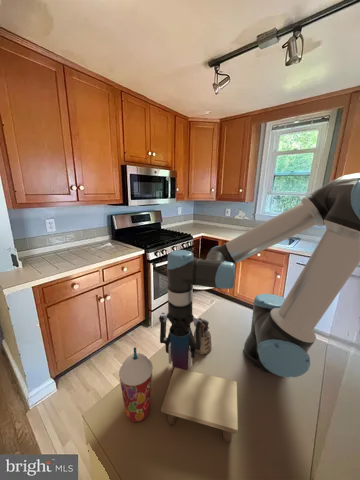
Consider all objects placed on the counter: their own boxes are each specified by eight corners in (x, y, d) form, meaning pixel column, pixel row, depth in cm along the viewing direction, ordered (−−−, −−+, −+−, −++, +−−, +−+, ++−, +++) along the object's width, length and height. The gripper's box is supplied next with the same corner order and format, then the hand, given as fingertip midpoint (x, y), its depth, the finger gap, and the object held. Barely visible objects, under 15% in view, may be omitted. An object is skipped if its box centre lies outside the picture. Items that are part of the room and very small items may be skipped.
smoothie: (155, 395, 58) (153, 336, 53) (151, 428, 49) (149, 362, 45) (127, 395, 58) (122, 336, 53) (118, 428, 49) (112, 362, 45)
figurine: (213, 344, 77) (215, 317, 74) (208, 357, 71) (209, 328, 68) (196, 338, 80) (197, 312, 77) (189, 350, 74) (190, 322, 71)
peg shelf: (235, 398, 57) (236, 381, 55) (235, 450, 45) (237, 430, 44) (174, 383, 61) (174, 367, 60) (161, 427, 50) (161, 408, 48)
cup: (166, 372, 65) (165, 332, 61) (176, 357, 71) (175, 320, 67) (184, 381, 62) (184, 339, 58) (193, 364, 68) (194, 326, 64)
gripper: (212, 297, 62) (210, 359, 67) (155, 290, 67) (157, 348, 72) (209, 311, 55) (207, 378, 60) (146, 302, 60) (149, 365, 65)
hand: (180, 362), depth 66 cm, fingers closed on cup, 6 cm apart
